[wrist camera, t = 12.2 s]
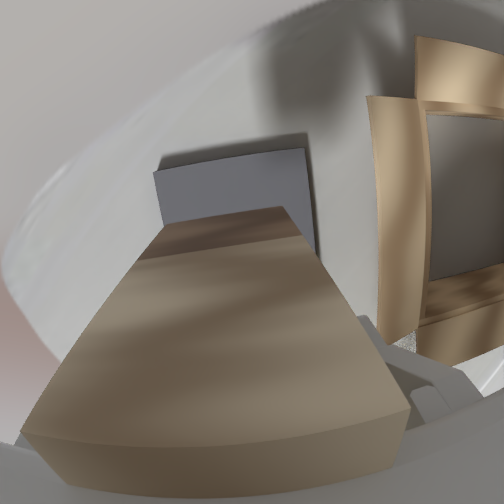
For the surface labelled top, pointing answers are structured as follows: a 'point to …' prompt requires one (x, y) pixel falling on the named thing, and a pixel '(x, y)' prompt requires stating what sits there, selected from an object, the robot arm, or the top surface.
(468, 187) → the top surface
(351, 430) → the block
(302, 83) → the top surface
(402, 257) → the carton
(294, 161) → the mat
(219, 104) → the top surface
